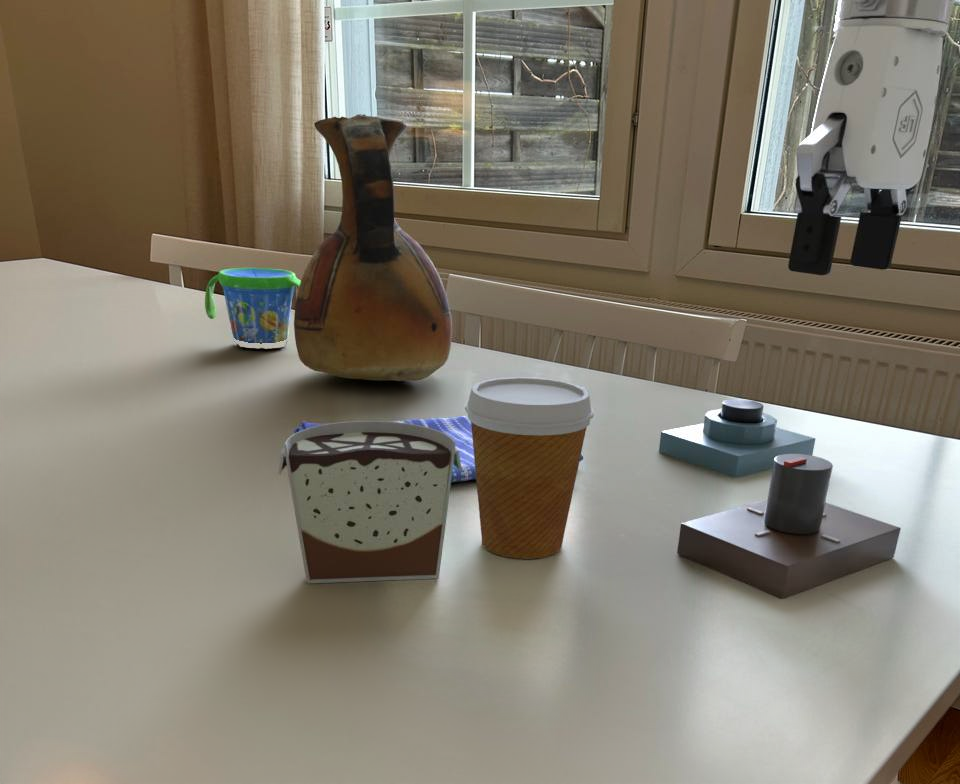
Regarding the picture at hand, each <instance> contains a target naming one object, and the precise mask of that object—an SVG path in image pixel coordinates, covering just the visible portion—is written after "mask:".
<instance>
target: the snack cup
mask: <svg viewBox="0 0 960 784" xmlns="http://www.w3.org/2000/svg"><path fill="white" fill-rule="evenodd" d="M218 281H219V284H220V285H221V287H222V289H223V290H222V291H223V294H224V299H225V306H226V310H227V315H228V319H229V324H230V329H231V334H232V337H233V339H234V338H235V339H236V340H239V341H244V342H248V343H260V344H262V343H276V342H280V341H284V340H286V339H287V338H288V339H289V335H290V334H289V333H290V326H291V325H290V323H291V314H292V305H293V303H292V302H293V301H292V300H293V297H294V292H295V287H297V289H298V290H299V286H300V282H301V279H299V278H297V276H296V273H295V272H293V271H291V270H286V269H279V268H268V267H236V268H235V267H233V268H226V269H222V270H219V272H218V274H217V275H214V276H212V278H210V279H209V281H208V283H207V285H206V289H205V294H204V308H205V309H204V310H205V313H206V316H207V318H208V319H210V320H213V319H216V317H217V307H216V304H215V302H214V301H215V300H214V291H215V286H216V283H217V282H218Z"/></svg>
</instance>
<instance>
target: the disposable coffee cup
mask: <svg viewBox="0 0 960 784" xmlns="http://www.w3.org/2000/svg"><path fill="white" fill-rule="evenodd" d="M591 404H592V403H591V398H590V392H589V390H587V388H585V387H583V386H581V385H579V384H576V383H572V382H568V381H564V380H558V379H552V378H543V377H529V376H527V377H525V376H524V377H523V376H521V377H517V376H516V377H515V376H514V377H513V376H512V377H511V376H510V377H499V378H498V377H497V378H491V379H486V380H481V381H479V382H477V383H474V384H473V386H472V387H471V388H470V393H469V396H468V400H466V402H465V403H464V410H465V412H466V413H467V416H468V419H469V420H470V421H471V428H472V439H473V449H474V460H475V471H476V479H475V480H476V482H475V483H476V493H477V503H478V512H479V513H478V515H479V524H480V525H479V527H480V534H481V545H482V546H483V548H484V549H485V550H487V551H489V552H491V553H492V554H495V555H498V556H502V557H506V558H510V559H520V560H521V559H523V560H531V559H540V558H547V557H549V556H553V555H556V554H557V553H558V552H560V551H561V549H562V547H563V543H564V538H565V531H566V527H567V523H568V517H569V513H570V508H571V504H572V499H573V495H574V489H575V484H576V480H577V475H578V471H579V465H580V462H581V461H580V456H581V455H582V451H583V446H584V442H585V441H584V440H585V437H586V432H587V429H588V426H590V424H591V419H593V418H594V415H595V409H594V407H593V406H592V405H591ZM579 461H580V462H579Z"/></svg>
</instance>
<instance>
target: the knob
mask: <svg viewBox="0 0 960 784" xmlns="http://www.w3.org/2000/svg"><path fill="white" fill-rule="evenodd" d="M833 467H834V465H833V463H832V462H831V461H829V460H827V459H825V458H823V457H820V456H815V455H812V456H811V455H805V454H783V455H779V456H777V457H776V458H775V459H774V465H773V469H772V472H771V477H770V482H769V488H768V494H767V499H766V500H767V505H766V510H765V516H764V523H765V524H766V525H767V526H768V527H770V528H772V529H774V530H777V531H780V532H784V533H790V534H812V533H815V532H817V531H819V530H820V527H821V522H822V517H823V512H824V507H825V503H827V498H828V492H829V488H830V483H831V477H832V472H833Z"/></svg>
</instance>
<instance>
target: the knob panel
mask: <svg viewBox="0 0 960 784" xmlns="http://www.w3.org/2000/svg"><path fill="white" fill-rule="evenodd" d="M766 505H767V499H764V500H761V501H757V502H753V503H750V504H749V503H748V504H746V505H742V506H739V507H735V508H731V509H728V510H723V511H721V512H716V513H713V514H710V515H706V516H703V517H699V518H696V519H695V518H694V519H692V520H689V521H684V522H681V523H680V528H679V534H678V543H677V551H676V554H678V555H680V556H682V557H685V558H687V559H689V560H691V561H693V562H696V563H699V564H701V565H703V566H706V567H708V568H710V569H712V570H715V571H717V572H719V573H721V574H724V575H726V576H729V577H731V578H733V579H735V580H738V581H740V582H742V583H745V584H747V585H750V586H751V587H754V588H756V589H758V590H761V591H764V592H766V593H768V594H770V595H772V596H775V597H777V598H779V599H785V598H788V597H790V596H793V595H796V594H799V593H801V592H804V591H807V590H810V589H812V588H815V587H818V586H821V585H823V584H826V583H828V582H831V581H834V580H836V579H840V578H842V577H845V576H848V575H851V574H853V573H855V572H858V571H861V570H863V569H864V570H865V569H866V568H869V567H872V566H874V565H877V564H879V563H882V562H886V561H888V560H890V559H893V558H894V557H895V553H896V550H897V546H898V541H899V538H900V534H901V529H902V528H901V527H900V526H896V525H893V524H891V523H888V522H885V521H882V520H878V519H876V518H872V517H870V516H866V515H864V514H861V513H858V512H856V511H855V512H854V511H852V510H848V509H846V508H843V507H840V506H837V505H834V504H832V503H829V502H825V507H824V512H823V517H822V522H821V527H820V530H819V531H817V532H815V533H812V534H790V533H784V532H780V531H777V530H774V529H772V528H770V527H768V526H767V525H766V524H765V523H764V516H765V510H766Z"/></svg>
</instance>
